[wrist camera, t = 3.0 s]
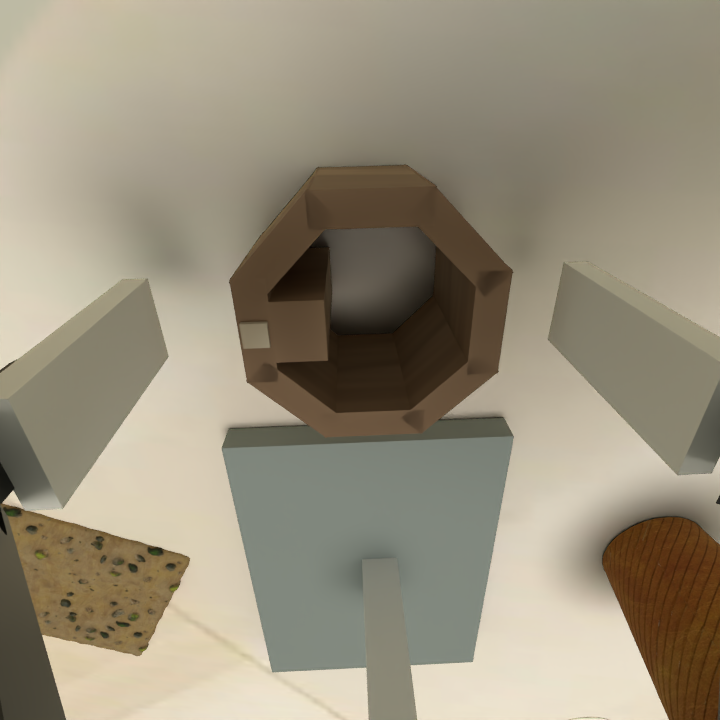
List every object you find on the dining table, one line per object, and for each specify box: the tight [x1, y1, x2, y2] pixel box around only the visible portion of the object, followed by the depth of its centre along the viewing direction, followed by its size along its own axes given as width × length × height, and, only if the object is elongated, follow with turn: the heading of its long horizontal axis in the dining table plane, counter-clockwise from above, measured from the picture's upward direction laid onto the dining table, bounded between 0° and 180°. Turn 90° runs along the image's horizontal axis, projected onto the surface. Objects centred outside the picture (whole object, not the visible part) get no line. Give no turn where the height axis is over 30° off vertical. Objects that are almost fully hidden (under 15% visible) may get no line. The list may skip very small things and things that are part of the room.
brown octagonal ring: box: [229, 165, 513, 438], centre depth 16 cm, size 8×8×6 cm
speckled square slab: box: [1, 503, 190, 656], centre depth 28 cm, size 12×12×1 cm
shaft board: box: [222, 418, 514, 720], centre depth 22 cm, size 14×20×10 cm
